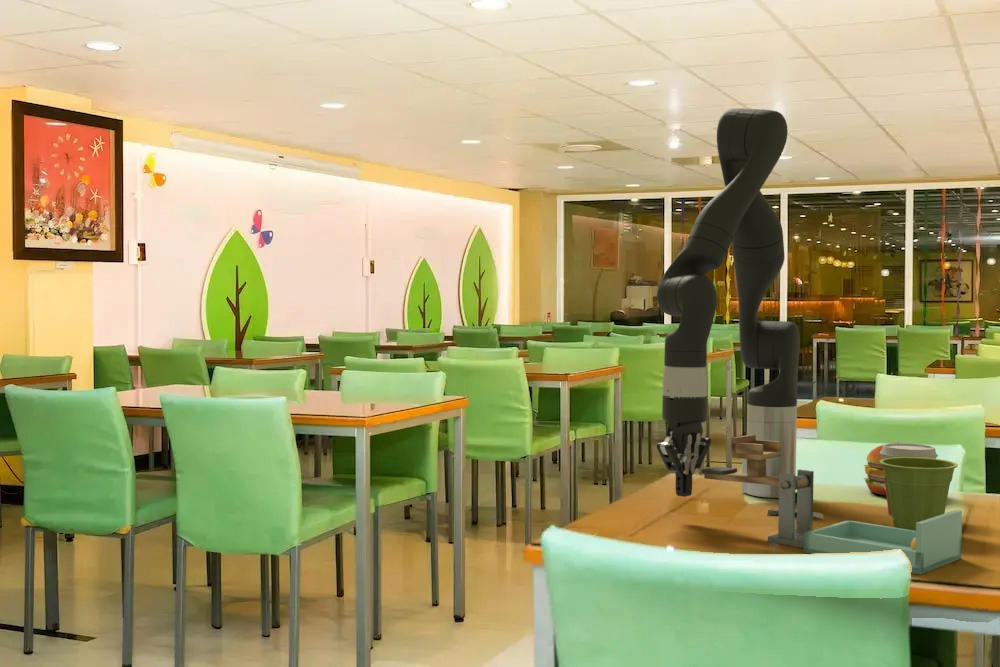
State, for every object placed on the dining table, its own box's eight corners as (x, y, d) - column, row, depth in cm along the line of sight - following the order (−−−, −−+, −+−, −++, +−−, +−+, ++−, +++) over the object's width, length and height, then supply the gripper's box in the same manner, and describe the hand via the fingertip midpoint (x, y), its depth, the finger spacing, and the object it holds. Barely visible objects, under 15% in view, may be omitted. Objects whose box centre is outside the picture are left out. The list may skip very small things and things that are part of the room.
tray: (803, 553, 162) (804, 505, 161) (847, 539, 171) (848, 494, 171) (920, 574, 149) (921, 523, 149) (960, 558, 159) (962, 510, 159)
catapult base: (828, 540, 170) (830, 472, 170) (802, 548, 165) (804, 478, 164) (794, 534, 175) (795, 467, 174) (767, 541, 169) (768, 473, 169)
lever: (812, 487, 171) (811, 438, 171) (792, 492, 167) (791, 441, 167) (719, 478, 183) (718, 432, 183) (698, 482, 179) (697, 435, 179)
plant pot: (876, 521, 185) (878, 455, 185) (952, 526, 182) (953, 458, 182) (879, 535, 174) (881, 465, 174) (960, 541, 171) (961, 469, 170)
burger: (851, 494, 211) (852, 443, 211) (879, 486, 222) (880, 436, 221) (922, 503, 202) (923, 449, 202) (947, 494, 213) (948, 443, 212)
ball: (916, 563, 155) (902, 544, 156) (926, 560, 157) (912, 541, 159) (933, 551, 153) (919, 532, 155) (943, 548, 155) (929, 529, 157)
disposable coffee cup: (941, 521, 186) (943, 451, 185) (882, 518, 188) (883, 449, 187) (931, 510, 195) (932, 443, 195) (875, 508, 197) (876, 442, 197)
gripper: (689, 389, 192) (687, 488, 192) (643, 394, 182) (641, 497, 183) (726, 392, 186) (724, 494, 187) (680, 397, 177) (679, 503, 177)
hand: (683, 495), depth 185 cm, fingers closed
